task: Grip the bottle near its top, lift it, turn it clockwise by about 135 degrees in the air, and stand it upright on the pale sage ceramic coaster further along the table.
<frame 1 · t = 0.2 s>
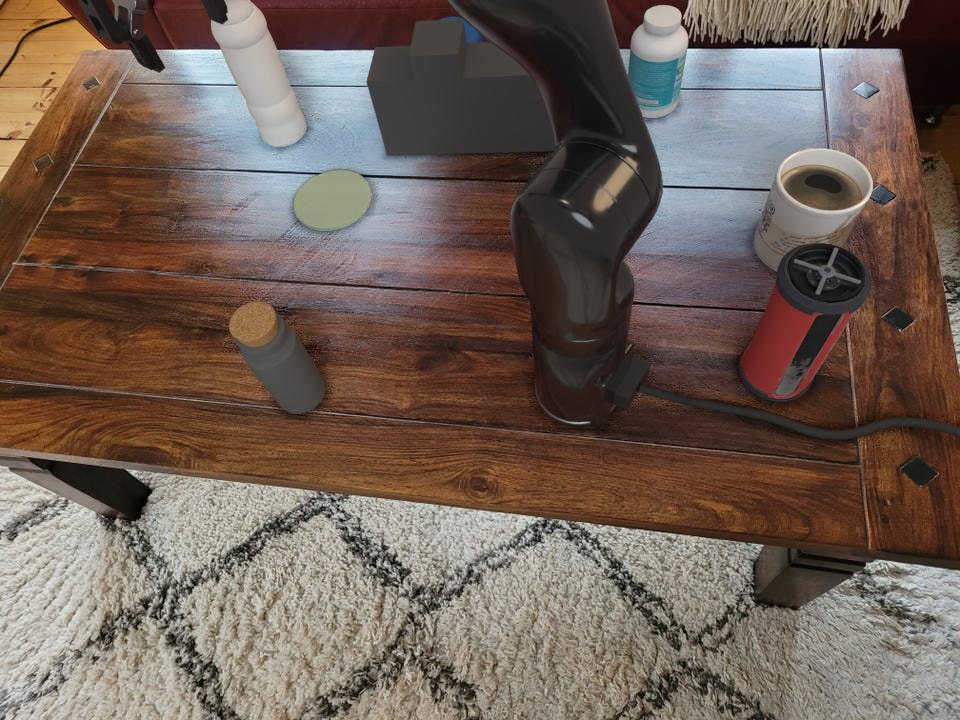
hand: (189, 44, 68), 29 cm above the table, tool pointing down, fingers open, 8 cm apart
mug: (796, 240, 84), on the table
speaker: (773, 373, 75), on the table
bottle: (302, 393, 80), on the table
water bottle: (285, 134, 104), on the table
coaster: (333, 201, 95), on the table
pill bottle: (651, 104, 99), on the table
camera: (477, 116, 102), on the table
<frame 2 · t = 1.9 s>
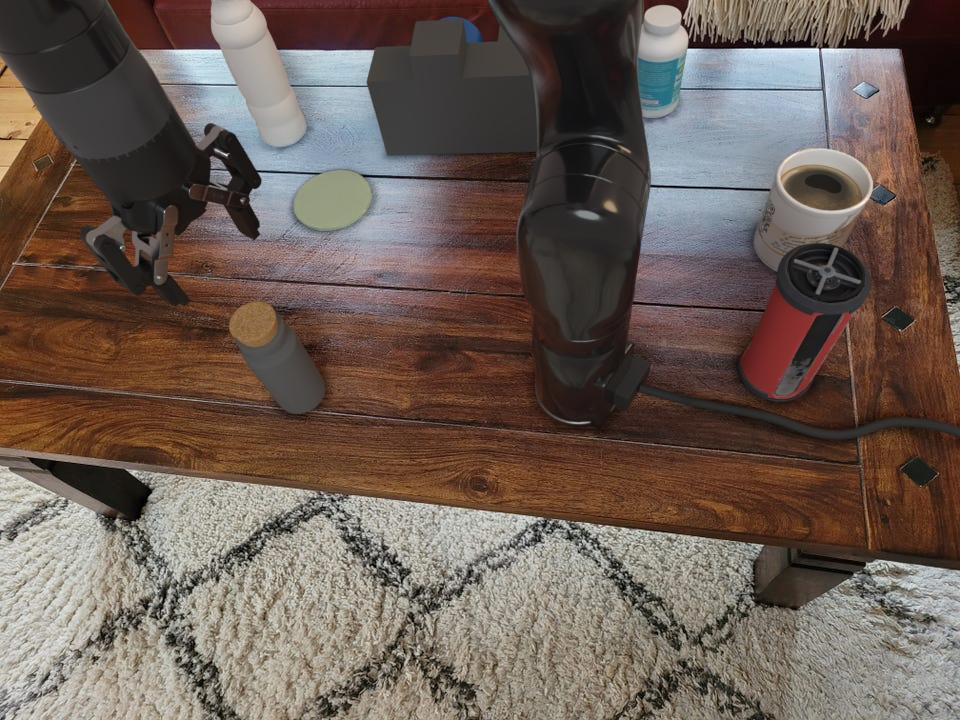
hand: (217, 266, 60), 23 cm above the table, tool pointing down, fingers open, 8 cm apart
nothing on the table moved.
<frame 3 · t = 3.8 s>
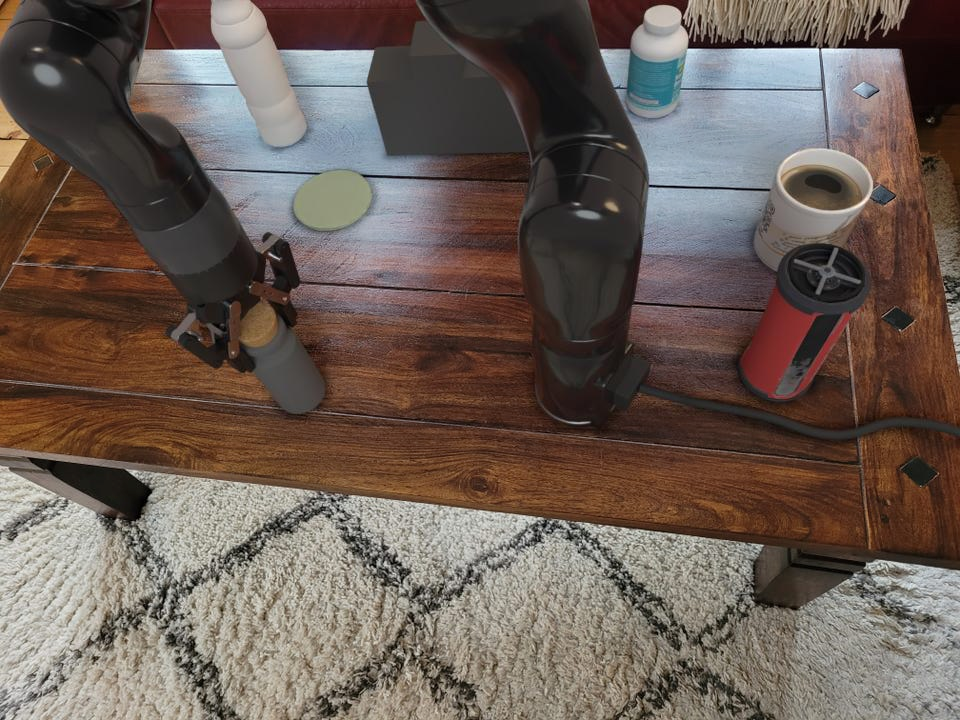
hand: (268, 344, 71), 11 cm above the table, tool pointing down, fingers closed on bottle, 5 cm apart
bottle: (302, 392, 80), on the table, touching gripper
everything else where it was.
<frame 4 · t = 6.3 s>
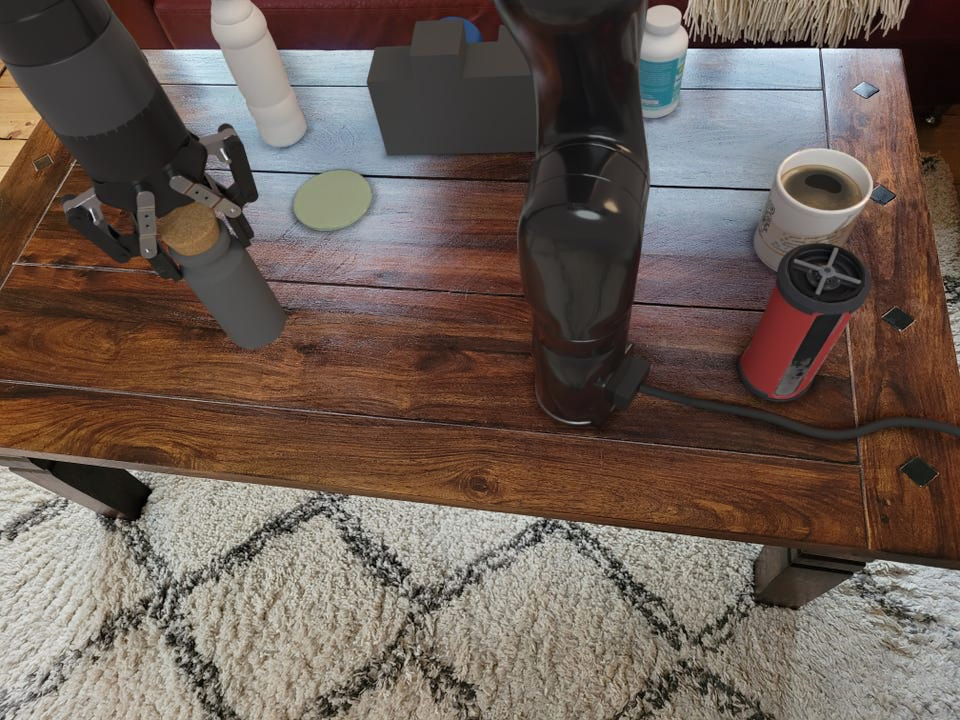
hand: (211, 257, 59), 24 cm above the table, tool pointing down, fingers closed on bottle, 5 cm apart
bottle: (258, 326, 68), point 14 cm above the table, touching gripper
everything else where it was.
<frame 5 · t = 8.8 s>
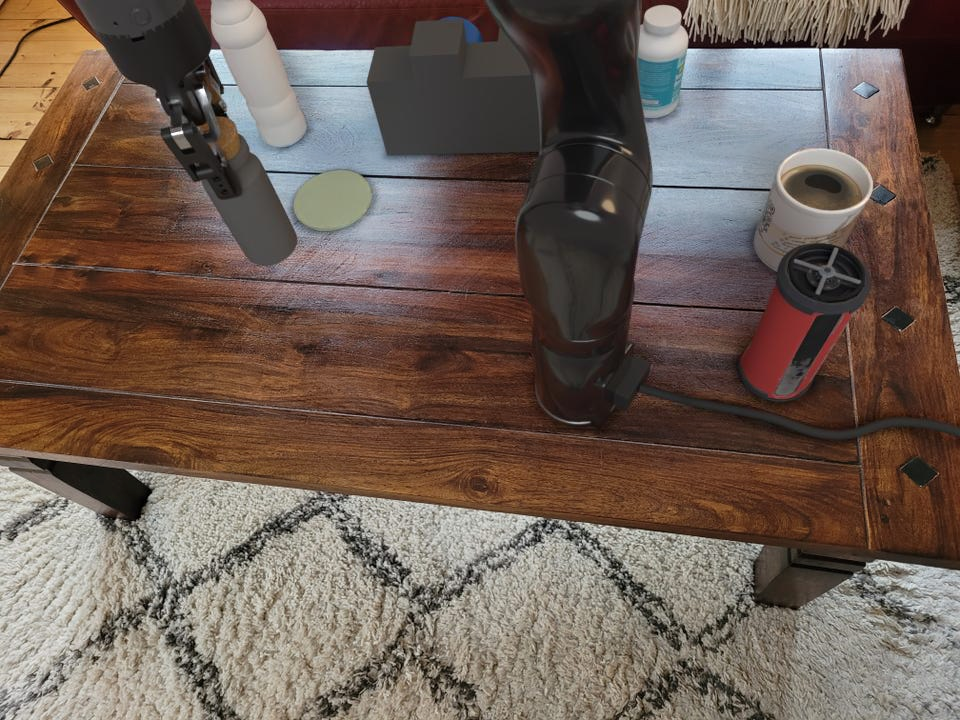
hand: (231, 171, 64), 25 cm above the table, tool pointing down, fingers closed on bottle, 5 cm apart
bottle: (272, 246, 73), point 14 cm above the table, touching gripper
everything else where it was.
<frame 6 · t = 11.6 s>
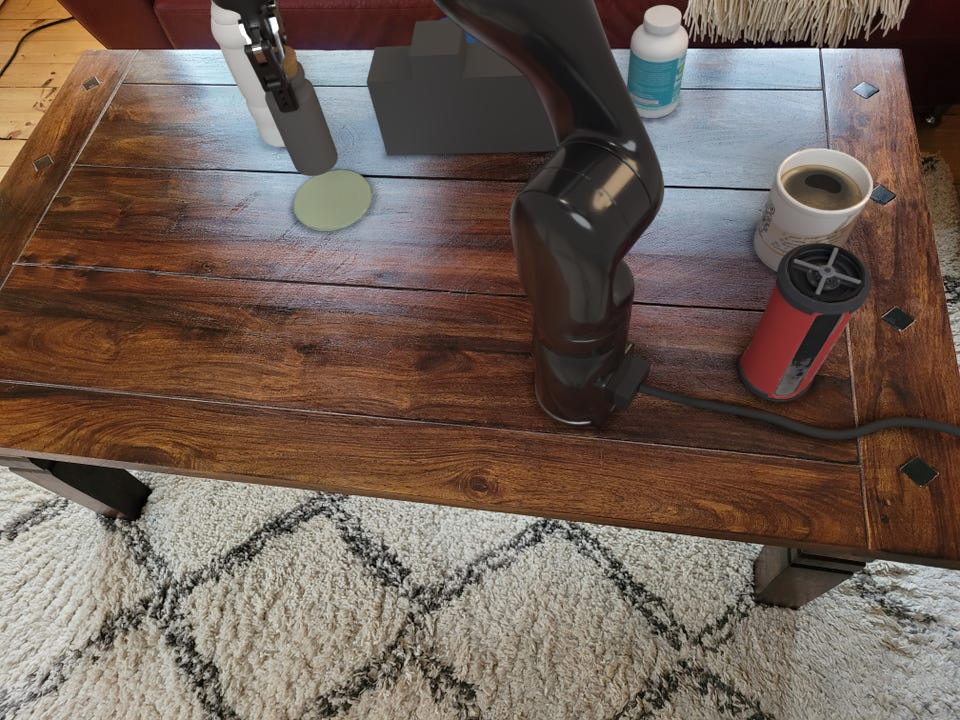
hand: (289, 91, 80), 18 cm above the table, tool pointing down, fingers closed on bottle, 5 cm apart
bottle: (317, 161, 89), point 7 cm above the table, touching gripper
everything else where it was.
when the fingers open (11 cm above the table, at t = 13.8 s): bottle stays where it is, resting on coaster.
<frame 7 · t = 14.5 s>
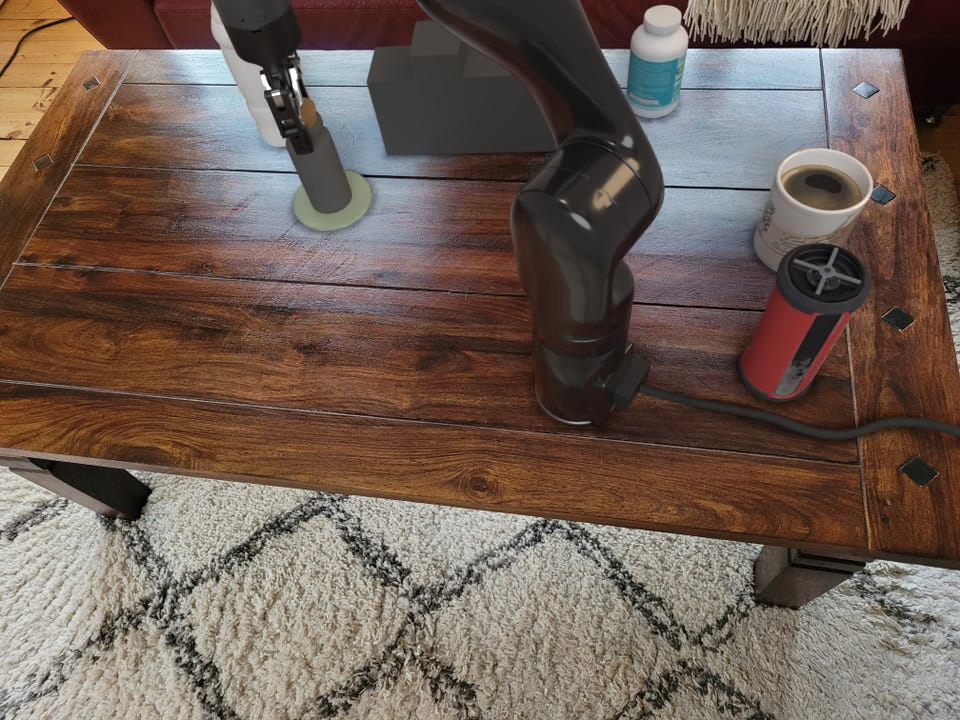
hand: (304, 129, 85), 13 cm above the table, tool pointing down, fingers open, 8 cm apart
bottle: (332, 199, 95), resting on coaster
everything else where it was.
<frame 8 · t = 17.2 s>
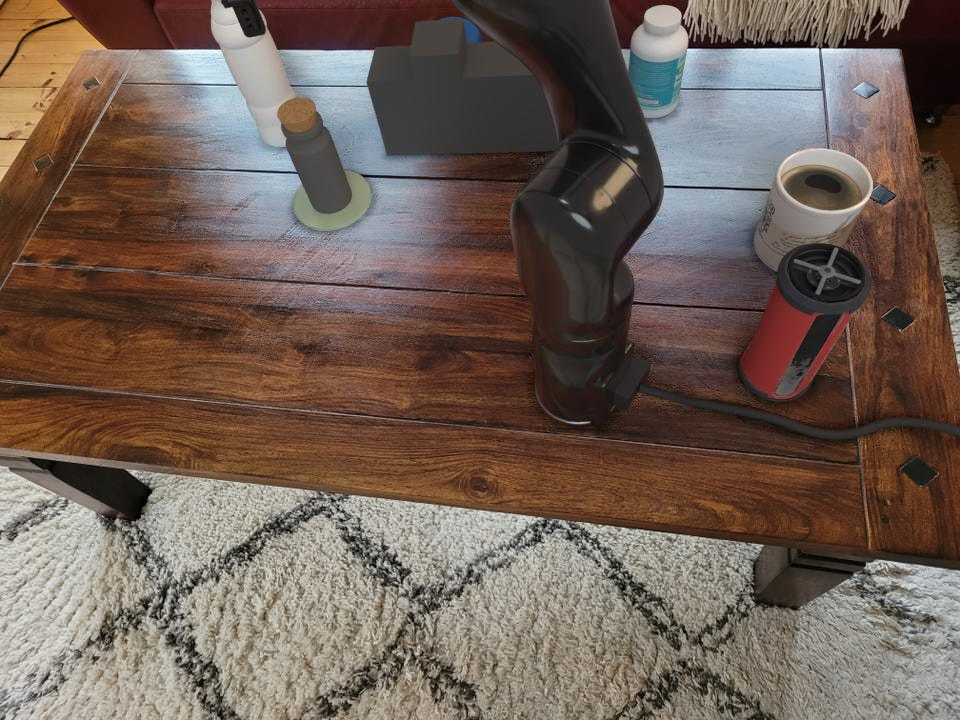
hand: (256, 10, 72), 28 cm above the table, tool pointing down, fingers open, 8 cm apart
nothing on the table moved.
at the end: bottle 0.1 cm off-centre on the coaster, point 0.4 cm above the coaster's base; bottle tilted 0°; the gripper is holding nothing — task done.
